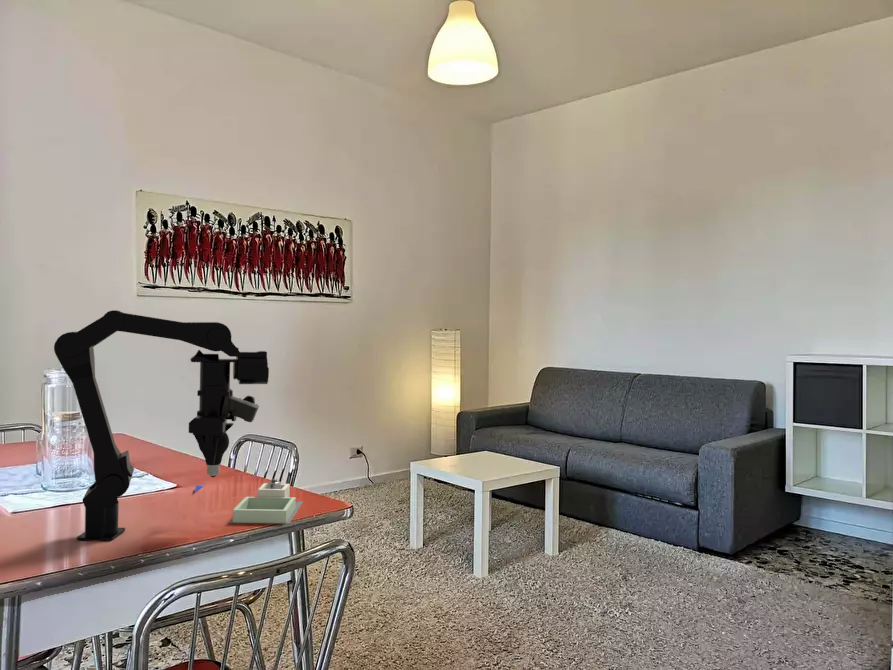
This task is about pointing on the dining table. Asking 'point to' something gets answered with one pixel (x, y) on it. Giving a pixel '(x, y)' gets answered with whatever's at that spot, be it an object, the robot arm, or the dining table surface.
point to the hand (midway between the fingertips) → (213, 462)
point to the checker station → (267, 507)
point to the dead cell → (274, 484)
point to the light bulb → (218, 455)
